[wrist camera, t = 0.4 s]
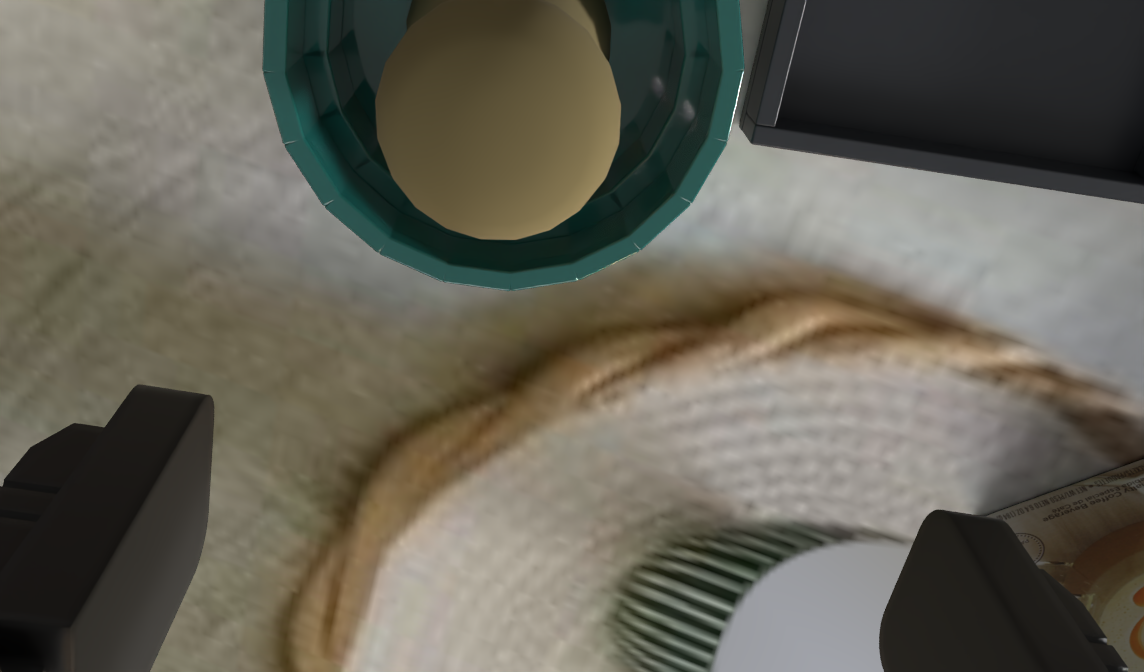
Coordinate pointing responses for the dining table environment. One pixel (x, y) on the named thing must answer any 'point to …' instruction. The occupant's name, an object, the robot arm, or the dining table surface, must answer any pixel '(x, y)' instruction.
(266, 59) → the bowl
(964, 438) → the dining table surface
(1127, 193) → the tray
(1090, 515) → the coffee box
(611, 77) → the cork
